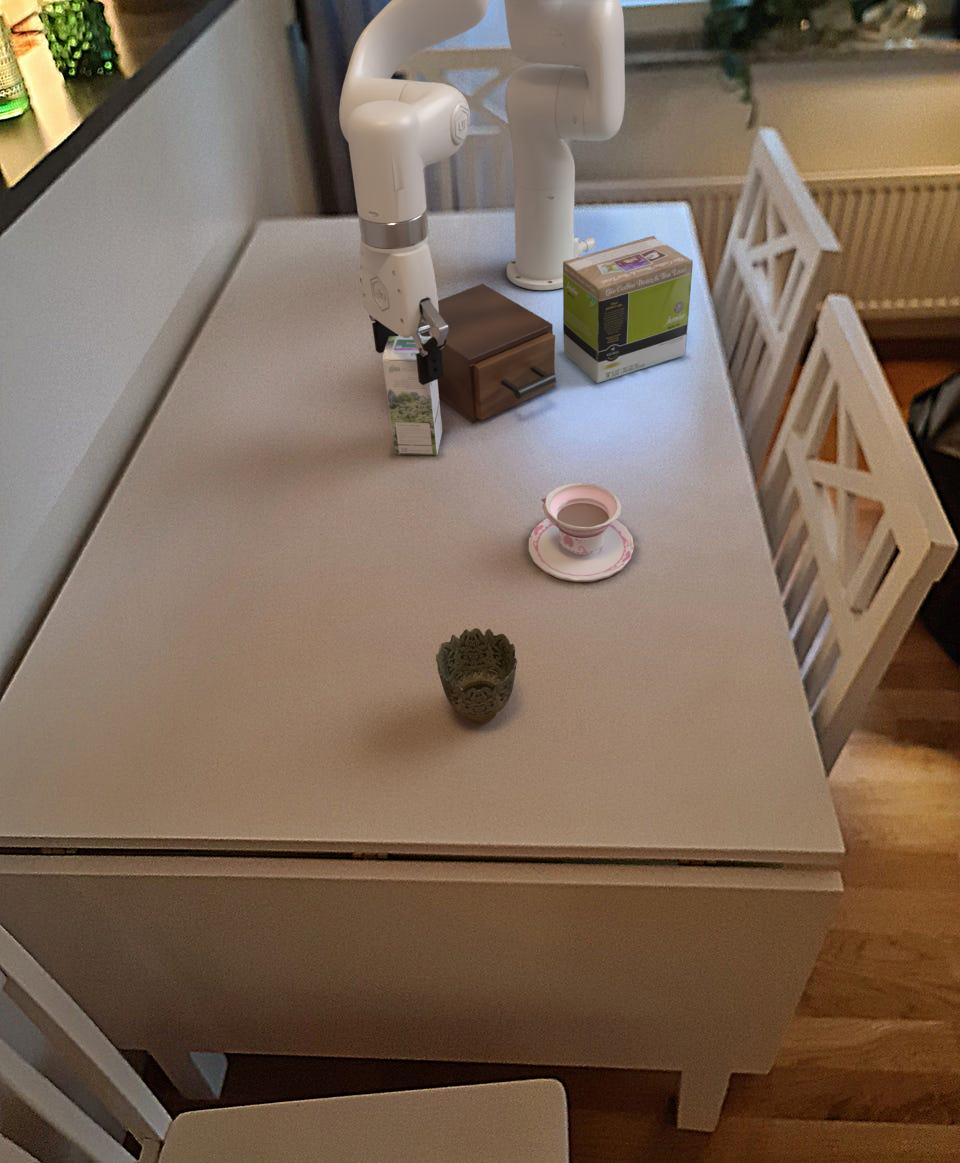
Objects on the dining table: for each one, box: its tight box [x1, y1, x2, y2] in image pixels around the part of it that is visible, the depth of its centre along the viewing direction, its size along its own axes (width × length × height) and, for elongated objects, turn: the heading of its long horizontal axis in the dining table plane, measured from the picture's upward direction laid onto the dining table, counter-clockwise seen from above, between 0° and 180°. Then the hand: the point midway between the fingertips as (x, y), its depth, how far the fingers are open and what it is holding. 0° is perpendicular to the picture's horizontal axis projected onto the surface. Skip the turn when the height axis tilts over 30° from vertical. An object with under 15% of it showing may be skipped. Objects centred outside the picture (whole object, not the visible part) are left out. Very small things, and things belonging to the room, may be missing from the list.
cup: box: [435, 627, 518, 724], centre depth 89 cm, size 8×7×8 cm
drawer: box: [473, 332, 557, 421], centre depth 129 cm, size 19×13×8 cm, turn 36°
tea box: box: [562, 235, 694, 384], centre depth 133 cm, size 15×10×15 cm
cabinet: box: [418, 283, 554, 424], centre depth 132 cm, size 16×14×10 cm
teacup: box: [528, 482, 635, 583], centre depth 106 cm, size 12×12×6 cm
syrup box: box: [381, 336, 443, 456], centre depth 120 cm, size 6×6×14 cm
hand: (409, 364), depth 116 cm, fingers open, 9 cm apart
